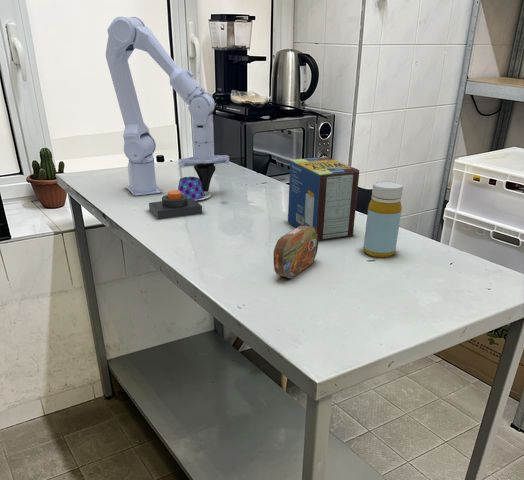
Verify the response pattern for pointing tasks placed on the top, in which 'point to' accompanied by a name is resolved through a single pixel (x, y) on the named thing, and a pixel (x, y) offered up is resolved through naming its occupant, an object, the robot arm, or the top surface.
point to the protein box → (323, 196)
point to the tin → (295, 251)
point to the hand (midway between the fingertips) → (205, 190)
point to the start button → (174, 195)
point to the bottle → (383, 219)
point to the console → (175, 207)
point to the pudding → (192, 188)
